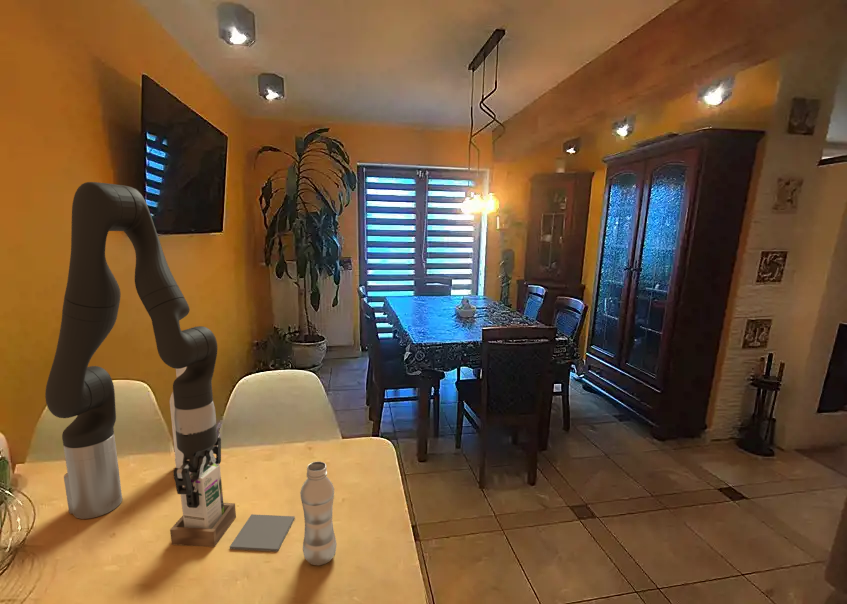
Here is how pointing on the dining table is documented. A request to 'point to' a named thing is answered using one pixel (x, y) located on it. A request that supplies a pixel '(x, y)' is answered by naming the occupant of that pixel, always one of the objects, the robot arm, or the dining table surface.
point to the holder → (203, 530)
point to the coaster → (263, 533)
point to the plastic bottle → (318, 515)
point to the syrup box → (205, 500)
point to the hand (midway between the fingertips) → (202, 496)
